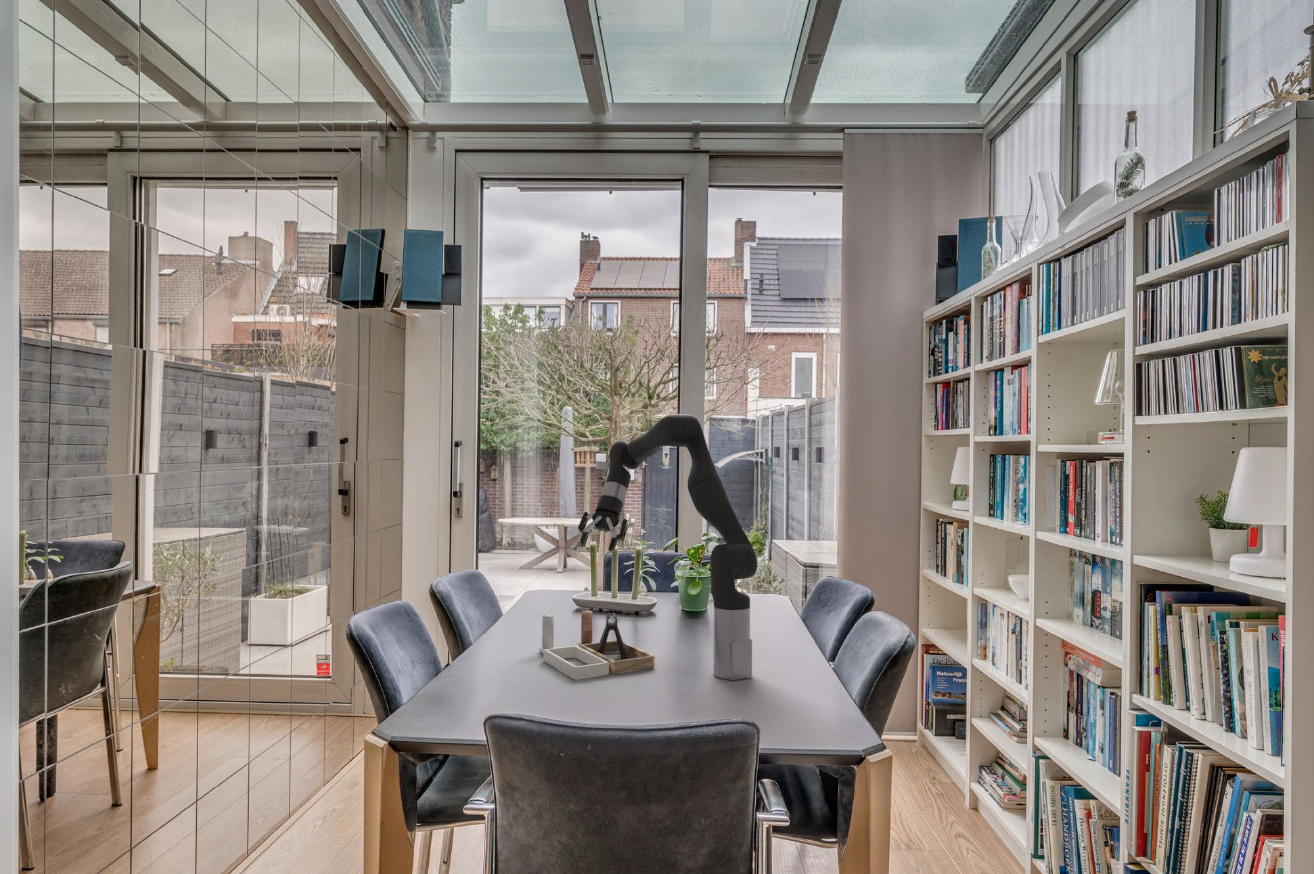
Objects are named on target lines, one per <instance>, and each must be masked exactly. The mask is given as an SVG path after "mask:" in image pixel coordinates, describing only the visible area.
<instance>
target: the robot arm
mask: <svg viewBox="0 0 1314 874" xmlns="http://www.w3.org/2000/svg"><path fill="white" fill-rule="evenodd" d="M705 438H706V437H705V433H704V431H703V428H702V426H701V423H700V421H699V419H698V417H696V416H695V415H693V414H688V413H686V414H685V413H683V414H682V413H672V414H667V415H665V416H663V417H662V418H660V420H658V422H656V423H655V424H654V425H653V426H652V427H650V429H649V430H647V431H646V432H645V433H643V434H641V435H639V436H637V437H635V438H633V439H631V440H630V441H629V442H627V441H625V440H624V439H619V440H616V441H615V442H613V443H612V446H611V448H610V450H609V465H608V466H609V467H608V475H607V478H606V480H605V484H604V486H603V488H602V491H601V493H600V495H599V498H598V501H597V505H596V507H595V512H594V513H593V514H591V513H588V511H584V512H583V514H582V517H581V519H580V522H579V524H578V526H577V529H578V531H579V533H581V537H580V540H579V543H580V545H581V547H583V548H584V547H586V545H587V542H588V538H589V535H591V534H592V533H594V532H595V531H597V530H598V531H600V532H605V533H608V532H610V533H611V536H612V537H611V538H610V542H609V545H608V548H607V549H608V552H610V553H612V552H614V551H615V549H616V546H617V544H618V543H617V542H618V541H625V539H626V534H627V531H628V527H629V522H628V520H627V518H623V519H620V517H621V513H622V511H623V507H624V505H625V503H626V497H627V492H628V489H629V485H630V482H631V480H632V479H631V478H632V476H631V474H630V472H629V471H628V470H627V469H630V470H636V469H638V468H639V467H640V465H641V464H642V463H643V461H644V460H646V459H648V458H650V457H652V456H654V455H655V454H657V452H658V451H659V449H660V447H673V448H674V447H675V448H678V447H680V448H681V447H682V448H683V447H685V448H686V449H687V451H688V452H689V455H690V458H691V459H690V460H691V467H690V470H689V475H688V479H687V490H688V493H689V496H690V498H691V501H692V503H693V505H694V508H695V510H696V511H697V513H698V514H699V515H700V516H701V517H702V518H703V519H704V520H705V521H706V522H708V523H709V524H710V525H711V526H712V527H713V528H714V529H715V530H716V531H717V532H718V533H719V534H720V536H721V538H723V541H724V543H720V544H719V543H718V544H717V545H715V546H714V547H713V549H712V550H711V554H710V559H709V568H710V569H709V570H710V571H709V572H710V590H711V596H712V599H713V676H714V677H716V678H719V679H724V680H731V681H737V680H742V679H749V678H752V677H753V639H751V597H750V595H748V594H746V593H744V592H741V591H738V589H736V583H735V581H736V580H737V581H738V580H744V579H745V580H746V579H749V578H752V577H753V576H755V575H756V574H757V571H758V558H757V554H756V551H755V549H754V547H753V545H752V543H751V541H750V539H749V538H748V535H747V534H746V531H744V529H743V527H742V525H741V523H740V521H739V519H738V517H737V515H736V512H735V510H734V508H733V506H732V504H731V502H730V500H729V496H728V495H727V492H726V489H725V487H724V484H723V483H722V480H721V478H720V475H719V474H718V472H717V469H716V467H715V465H714V464H715V463H714V462H713V459H712V457H711V454H710V451H709V448H708V447H709V446H708V444H707V441H706V439H705ZM626 468H627V469H626ZM590 520H592V521H591V522H590ZM589 522H590V523H589ZM588 523H589V524H588ZM587 524H588V525H587ZM617 526H620V531H619V534H617V532H616V530H615V528H616V527H617Z"/></svg>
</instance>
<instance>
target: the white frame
mask: <svg viewBox="0 0 1314 874" xmlns="http://www.w3.org/2000/svg"><path fill="white" fill-rule="evenodd" d="M541 617H542V619H541V620H542V626H541V627H542V628H541V630H542V631H541V647H539V648H538V649H539V652H540V654H543V655H542V657H543V662H545V663H546V664H548V665H550V666H551V667H553V668H554V669H556V670H558V671H560V672H561V673H562V674H563V675H566V676H567V677H569V678H571V679H572V680H583V679H589V678H596V677H602V676H608V675H609V674H610V672H609V662H607V661H605V660H604V659H602V658H600V657H598V656H596V655H594V654H592V653H590V652H588V651H586V650H584V649H582V648H580V647H579V646H578V644H577V645H568V646H562V647H561V646H560V647H555V645H554V643H555V642H554V640H555V635H554V633H555V632H554V631H555V628H554V627H555V625H554V624H555V615H554V614H544V615H543V614H542V616H541ZM573 658H575V659H576V660H579V661H581V662H582V663H583V665H579V666H578V665H577V666H576V665H574V664H573V663H571V662H569V661H568V660H566V659H573Z"/></svg>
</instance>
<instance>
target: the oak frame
mask: <svg viewBox="0 0 1314 874" xmlns="http://www.w3.org/2000/svg"><path fill="white" fill-rule="evenodd" d="M580 612H581V613H580V614H581V617H580V619H581V621H580V622H581V624H580V628H581V629H580V631H581V632H580V641H581V642H578V643H577V646H578V647H580V648H582V649H584V650H586V651H588V652H590V653H592V654H594V655H596V656H598V657H600V658H602V659H604V660H605V661H607V662H609V673H611V674H622V673H629V672H630V673H631V672H636V671H641V670H642V671H643V670H649V669H653V668H655V665H656V664H655V659H656V657H655V655H653V654H651V653H650V652H647V651H645V650H642V649H640V648H638V647H636V646H634V645H632V644H629V643H627V642H625V641H623V643H624V646H625V649H626V651H627V654H628V659H625V660H618V661H614V660H612V659H610V658H608V657H606V656H604V655H605V654H610V653H616V652H618V653H620V651H619V647H618V643H617V639H615V640H609V641H608V640H607V642H606V646H605V650H604V653H603V655H602V654H600V653H598V652H596V651H597V648H598V645H599V642H593V611H592V610H582V611H580Z"/></svg>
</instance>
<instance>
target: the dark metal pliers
mask: <svg viewBox="0 0 1314 874" xmlns="http://www.w3.org/2000/svg"><path fill="white" fill-rule="evenodd" d="M612 617H613V619H614V621H613V622H612V621H609V620H610V619H611V612H608V613H607V614H606V616H605V620H606V621H605V626H604V629H603V633H602V635H601V637H600V640H599V642H598V643H599V645H598V648H597V651H596V652H598V653H600V654H602V655H604V656H606V657H608V658H610V659H612V660H614V661H618V660H625V659H629V656H628V654H627V651H626V649H625V646H624V643H623V642H624V641H623V637H622V635H621V633H620V629H619V626H618V616H617V614H616V613H615V612H612ZM610 631H614V634H615V635H614V636H615V640H617V643H618V647H619V651H620V652H619V654H605V653H604V650H605V646H606V642H607V641H608V639H609V634H610Z"/></svg>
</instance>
